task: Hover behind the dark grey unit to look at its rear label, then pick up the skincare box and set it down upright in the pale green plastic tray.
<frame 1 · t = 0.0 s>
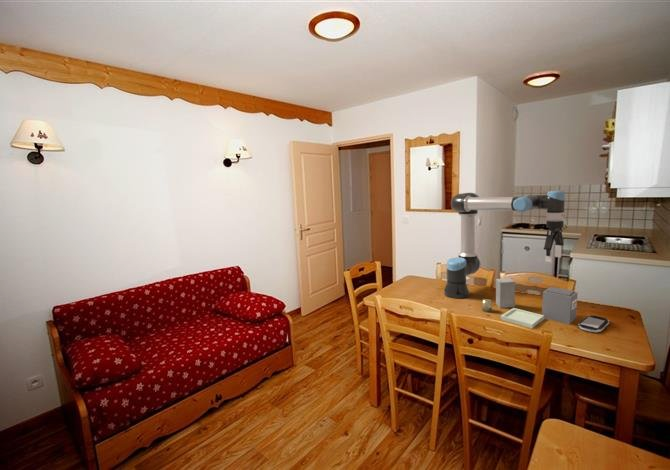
hand: (553, 259, 171), 28 cm above the table, fingers open, 13 cm apart
skincare box: (504, 306, 183), on the table
unit: (558, 317, 164), on the table
tray: (522, 319, 165), on the table
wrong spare: (486, 310, 178), on the table
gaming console: (593, 326, 153), on the table
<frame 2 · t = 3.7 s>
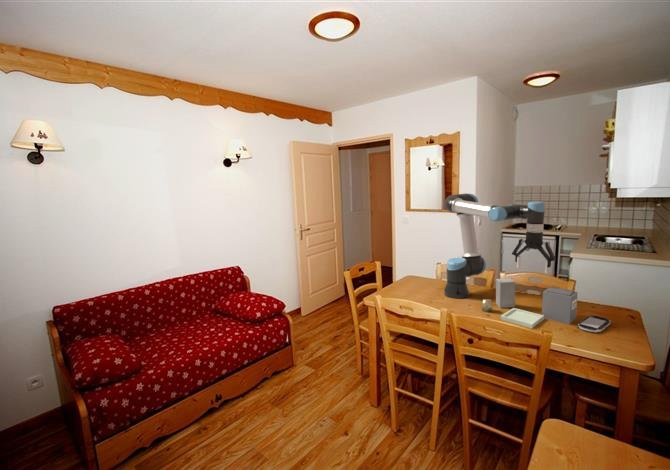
hand: (531, 270, 170), 23 cm above the table, fingers open, 13 cm apart
nothing on the table moved.
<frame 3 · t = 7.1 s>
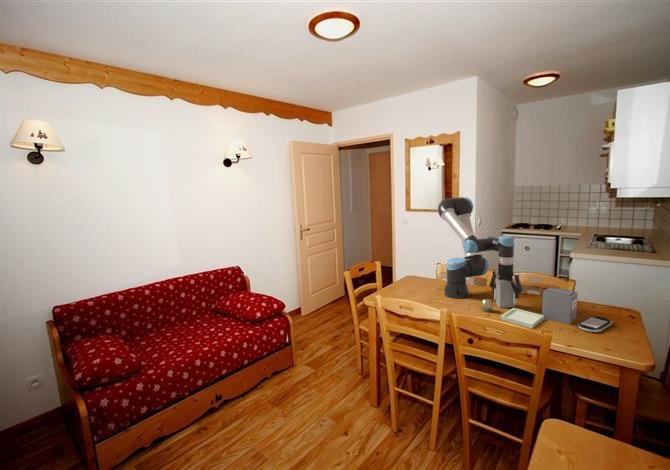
hand: (505, 301, 183), 3 cm above the table, fingers closed on skincare box, 10 cm apart
skincare box: (505, 306, 183), on the table, touching gripper
everything else where it was.
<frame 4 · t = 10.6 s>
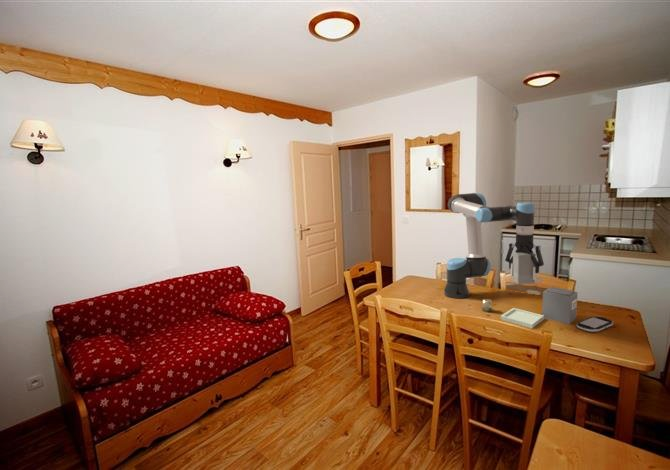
hand: (523, 277, 161), 23 cm above the table, fingers closed on skincare box, 10 cm apart
skincare box: (523, 282, 162), point 20 cm above the table, touching gripper
everything else where it was.
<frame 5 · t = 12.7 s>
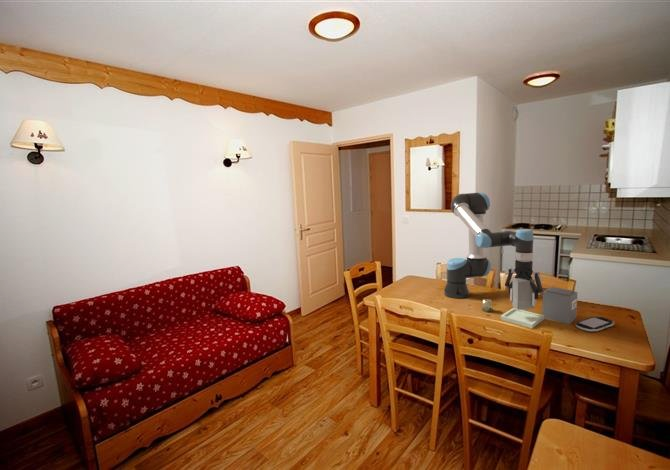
hand: (522, 302, 163), 9 cm above the table, fingers closed on skincare box, 10 cm apart
skincare box: (522, 308, 164), point 6 cm above the table, touching gripper
everything else where it was.
when the fingers open (5 cm above the table, at t = 14.3 s): skincare box stays where it is, resting on tray.
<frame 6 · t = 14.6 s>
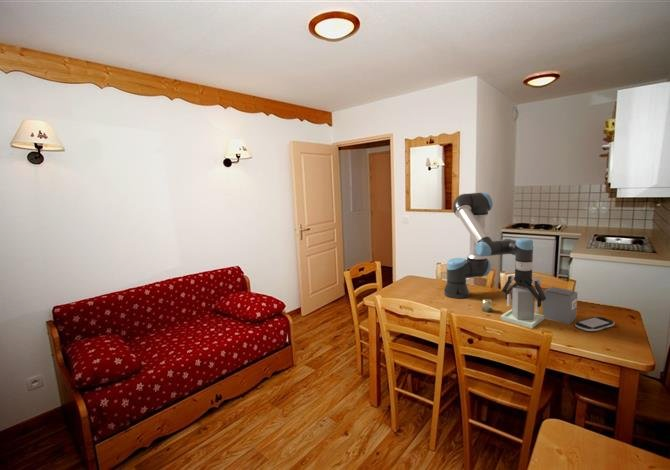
hand: (522, 309, 164), 6 cm above the table, fingers open, 13 cm apart
skincare box: (522, 317, 165), point 1 cm above the table, touching tray
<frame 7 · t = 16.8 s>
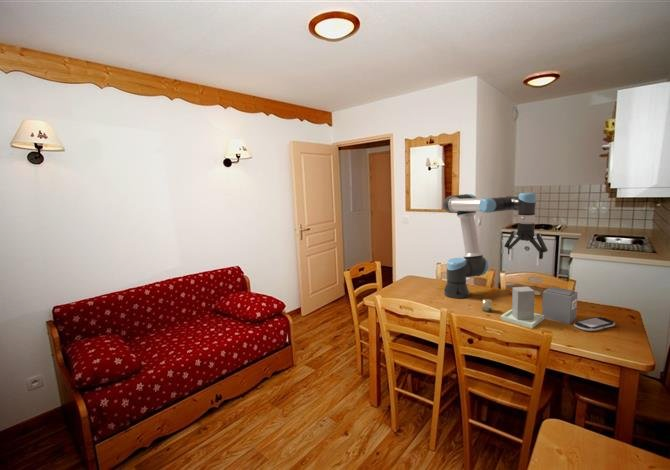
hand: (524, 262, 168), 28 cm above the table, fingers open, 13 cm apart
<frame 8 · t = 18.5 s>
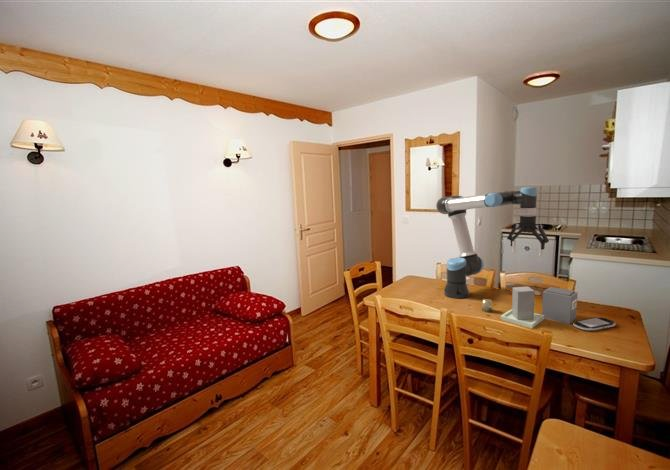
hand: (526, 253, 176), 31 cm above the table, fingers open, 13 cm apart
at the end: skincare box 0.2 cm from the tray (horizontally); skincare box point 0.8 cm above the table; skincare box tilted 0° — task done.
